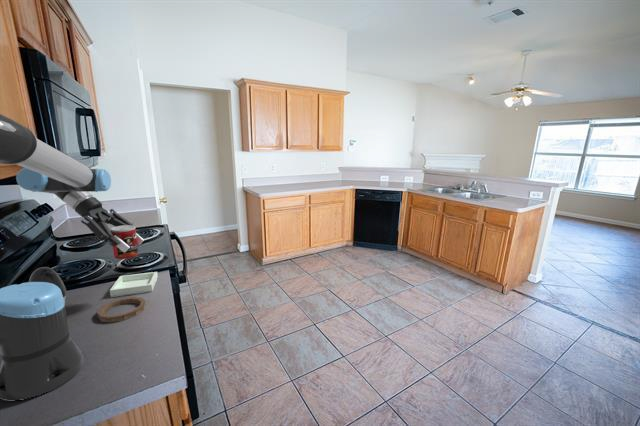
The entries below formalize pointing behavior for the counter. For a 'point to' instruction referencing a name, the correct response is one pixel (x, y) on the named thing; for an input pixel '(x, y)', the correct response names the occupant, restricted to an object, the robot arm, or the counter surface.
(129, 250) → the canned food
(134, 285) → the tray
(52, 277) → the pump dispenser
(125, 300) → the collar ring
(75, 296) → the counter surface
